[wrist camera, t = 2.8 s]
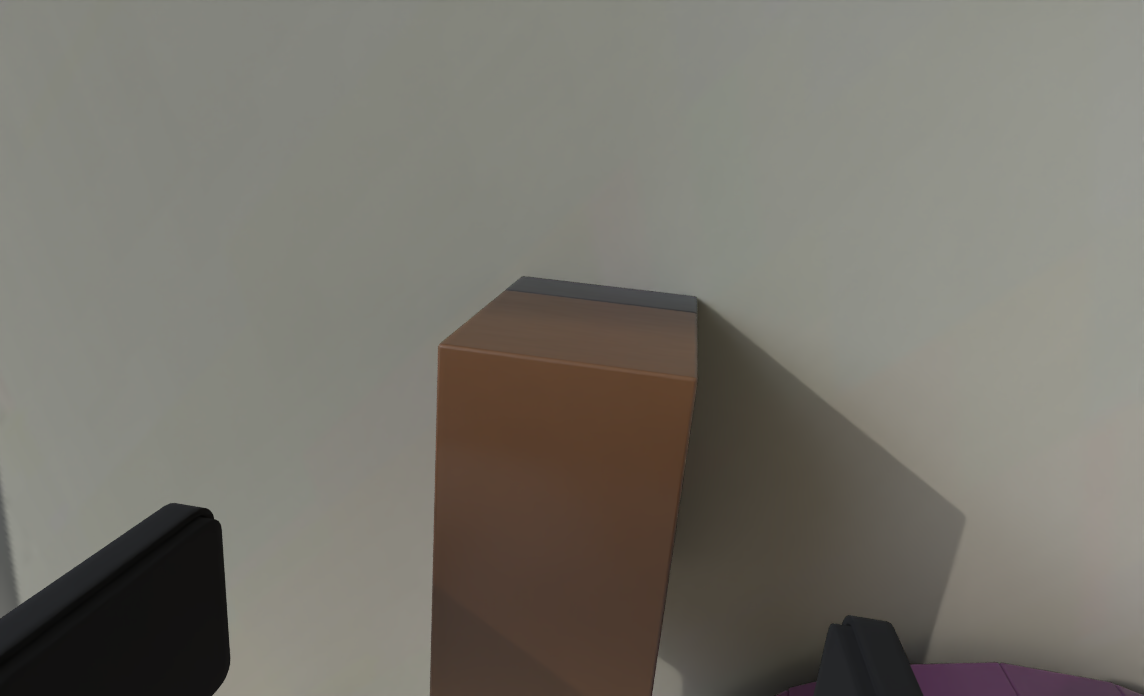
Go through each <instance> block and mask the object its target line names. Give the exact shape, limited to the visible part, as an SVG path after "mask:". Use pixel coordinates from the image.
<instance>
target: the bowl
mask: <svg viewBox="0 0 1144 696" xmlns="http://www.w3.org/2000/svg"><path fill="white" fill-rule="evenodd" d="M910 666H911V668H912V670H913V673H914V675H915V677H916V679H917V682H918V684H919V686H920V688H921V691H922V693H923V695H924V696H1144V695H1142V694H1140V693H1137V692H1135V691H1132V690H1130V689H1127V688H1125V687H1122V686H1120V685H1117V684H1113V683H1112V682H1108V681H1102V680H1097V679H1091V678H1086V677H1080V676H1074V675H1069V674H1063V673H1057V672H1052V671H1046V670H1041V669H1035V668H1029V667H1024V666H1018V665H1012V664H1007V663H1000V664H999V663H997V662H981V663H940V664H910ZM816 682H817V681H815V682H811V683H807V684H803V685H798V686H794V687H790V688H788V691H787V690H785V691H783V692H781V693H779V694H777V695H775V696H813V695H814V690H815V686H816Z"/></svg>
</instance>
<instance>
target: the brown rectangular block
mask: <svg viewBox="0 0 1144 696" xmlns="http://www.w3.org/2000/svg"><path fill="white" fill-rule="evenodd" d="M697 384H698V338H697V297H695V296H687V295H678V294H670V293H661V292H653V291H644V290H636V289H627V288H619V287H610V286H602V285H593V284H585V283H576V282H568V281H559V280H551V279H542V278H534V277H525V276H523V277H521V278H519V279H518V280H517V281H516V282H515V283H513V284H512V285H511V286H510V287H508V288H507V289H506V290H505V291H504V292H502V293H501V294H500V295H499V296H498V297H496V298H495V299H494V300H493V301H491V302H490V303H489V304H488V305H487V306H485V307H484V308H483V309H482V310H480V311H479V312H478V313H477V314H476V315H474V316H473V317H472V318H471V319H469V320H468V321H467V322H466V323H464V324H463V325H462V326H461V327H460V328H458V329H457V330H456V331H455V332H453V333H452V334H451V335H450V336H449V337H447V338H446V339H445V340H444V341H442V342H441V343H440V344H439V346H438V375H437V418H436V460H435V502H434V544H433V586H432V628H431V671H430V696H652V690H653V684H654V677H655V670H656V663H657V656H658V650H659V643H660V636H661V629H662V622H663V615H664V609H665V602H666V595H667V588H668V581H669V575H670V568H671V561H672V554H673V547H674V540H675V534H676V527H677V520H678V513H679V506H680V499H681V493H682V486H683V479H684V472H685V465H686V459H687V452H688V445H689V438H690V431H691V424H692V418H693V411H694V404H695V397H696V390H697Z"/></svg>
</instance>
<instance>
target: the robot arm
mask: <svg viewBox="0 0 1144 696" xmlns="http://www.w3.org/2000/svg"><path fill="white" fill-rule="evenodd" d="M229 666H230V647H229V632H228V617H227V602H226V587H225V572H224V557H223V542H222V529H221V524H220V523H219V521H217V520H215V519H214V516H213V514H212V512H211V511H210V510H208V509H207V508H201V507H195V506H189V505H183V504H177V503H170V504H168V505H166V506H164V507H162V508H161V509H160V510H158V511H157V512H155V513H154V514H152V515H151V516H149V517H148V518H146V519H145V520H143V521H142V522H141V523H139V524H138V525H136V526H135V527H133V528H132V529H130V530H129V531H127V532H126V533H124V534H123V535H122V536H120V537H119V538H117V539H116V540H114V541H113V542H111V543H110V544H108V545H107V546H105V547H104V548H103V549H101V550H100V551H98V552H97V553H95V554H94V555H92V556H91V557H89V558H88V559H86V560H85V561H84V562H82V563H81V564H79V565H78V566H76V567H75V568H73V569H72V570H70V571H69V572H68V573H66V574H65V575H63V576H62V577H60V578H59V579H57V580H56V581H54V582H53V583H51V584H50V585H49V586H47V587H46V588H44V589H43V590H41V591H40V592H38V593H37V594H35V595H34V596H32V597H31V598H30V599H28V600H27V601H25V602H24V603H22V604H21V605H19V606H18V607H17V608H15V609H13V610H12V611H11V612H9V613H8V614H6V615H5V616H3V617H2V618H0V696H212V695H213V694H214V693H215V692H216V691H217V689H218V688H219V687H220V686H221V684H222V683H223V681H224V680H225V678H226V676H227V673H228V670H229ZM813 696H924V695H923V693H922V691H921V688H920V686H919V684H918V682H917V679H916V677H915V675H914V673H913V670H912V668H911V666H910V663H909V661H908V659H907V657H906V654H905V652H904V650H903V647H902V645H901V643H900V641H899V638H898V636H897V634H896V632H895V629H894V627H893V626H892V624H891V623H889V622H887V621H881V620H875V619H869V618H863V617H857V616H851V615H848V616H846V617H845V619H844V621H843V623H842V625H840V624H834V623H833V624H831V625H830V627H829V630H828V633H827V637H826V642H825V646H824V651H823V655H822V659H821V664H820V668H819V673H818V677H817V682H816V686H815V690H814V695H813Z"/></svg>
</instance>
